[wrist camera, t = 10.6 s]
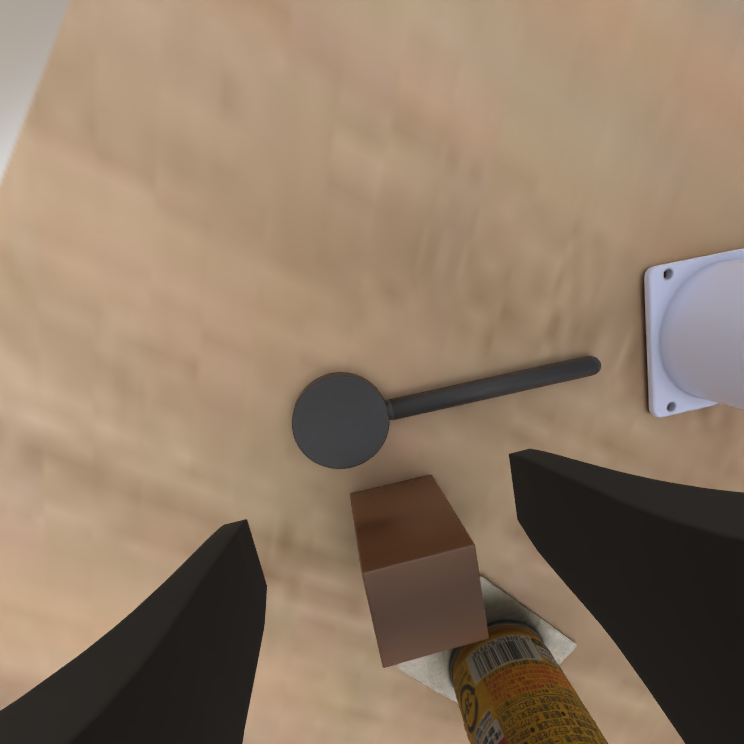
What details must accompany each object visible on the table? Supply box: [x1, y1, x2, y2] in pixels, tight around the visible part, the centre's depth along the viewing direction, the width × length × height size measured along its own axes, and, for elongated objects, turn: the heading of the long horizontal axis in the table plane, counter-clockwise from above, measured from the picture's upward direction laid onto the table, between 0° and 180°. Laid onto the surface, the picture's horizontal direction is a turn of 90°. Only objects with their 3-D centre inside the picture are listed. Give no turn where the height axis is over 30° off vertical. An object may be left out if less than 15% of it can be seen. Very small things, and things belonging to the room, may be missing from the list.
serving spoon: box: [292, 356, 601, 469], centre depth 20 cm, size 16×5×1 cm, turn 101°
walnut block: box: [350, 475, 489, 668], centre depth 18 cm, size 4×4×6 cm
